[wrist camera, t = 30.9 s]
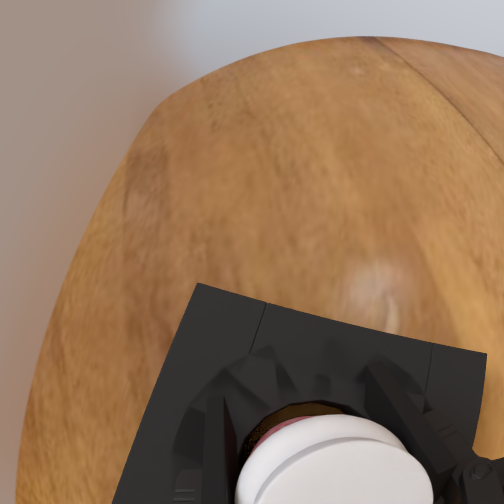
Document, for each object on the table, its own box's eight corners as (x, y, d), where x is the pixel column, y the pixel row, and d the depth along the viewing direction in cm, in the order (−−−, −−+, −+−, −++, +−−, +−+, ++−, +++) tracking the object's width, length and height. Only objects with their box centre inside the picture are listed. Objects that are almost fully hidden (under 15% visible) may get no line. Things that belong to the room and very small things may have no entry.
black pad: (125, 515, 13) (104, 525, 10) (207, 301, 20) (197, 282, 18) (395, 578, 9) (410, 594, 7) (463, 363, 17) (487, 353, 14)
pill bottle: (245, 509, 13) (209, 605, 4) (253, 414, 16) (227, 407, 7) (353, 509, 13) (437, 585, 3) (360, 415, 16) (464, 398, 6)
